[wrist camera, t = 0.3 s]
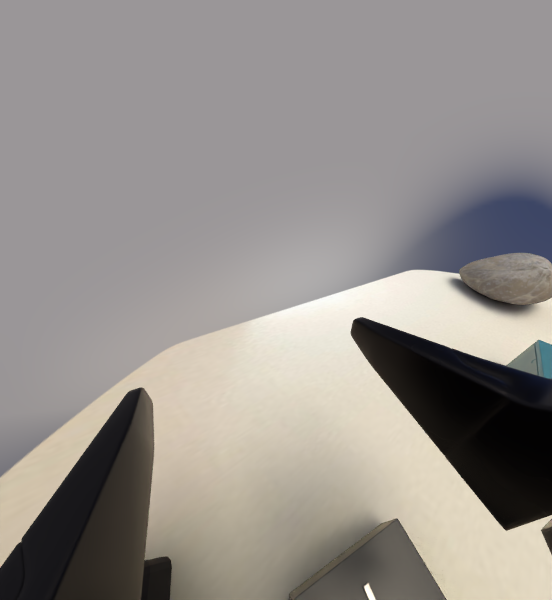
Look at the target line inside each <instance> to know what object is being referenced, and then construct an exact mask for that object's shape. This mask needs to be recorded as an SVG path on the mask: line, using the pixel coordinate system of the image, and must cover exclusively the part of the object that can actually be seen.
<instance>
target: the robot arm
mask: <svg viewBox="0 0 552 600" xmlns="http://www.w3.org/2000/svg"><path fill="white" fill-rule="evenodd" d="M351 336H352V338H353V339H354V341H355V342H356V344H357V345H358V347H359V348H360V350H361V351H362V353H363V354H364V356H365V357H366V359H367V360H368V362H369V363H370V364H371V366H372V367H373V368H374V369H375V371H376V372H377V373H378V374H379V376H380V377H381V378H382V379H383V381H384V382H385V383H386V384H387V385H388V387H389V388H390V389H391V390H392V392H393V393H394V394H395V395H396V397H397V398H398V399H399V400H400V401H401V403H402V404H403V405H404V406H405V408H406V409H407V410H408V411H409V413H410V414H411V415H412V416H413V417H414V419H415V420H416V421H417V422H418V424H419V425H420V426H421V427H422V429H423V430H424V431H425V432H426V434H427V435H428V436H429V437H430V438H431V440H432V441H433V442H434V443H435V445H436V446H437V447H438V448H439V450H440V451H441V452H442V453H443V454H444V455H445V457H446V458H447V460H448V461H449V462H450V463H451V465H452V466H453V467H454V468H455V469H456V471H457V472H458V473H459V474H460V476H461V477H462V478H463V479H464V481H465V482H466V483H467V484H468V486H469V487H470V488H471V489H472V490H473V492H474V493H475V494H476V495H477V497H478V498H479V499H480V500H481V502H482V503H483V504H484V505H485V506H486V508H487V509H488V510H489V511H490V513H491V514H492V515H493V516H494V518H495V519H496V520H497V521H498V522H499V524H500V525H501V526H502V527H503V528H504V529H505V530H506V531H507V530H510V529H513V528H516V527H518V526H521V525H524V524H527V523H530V522H533V521H535V520H538V519H541V518H544V517H547V516H550V515H552V379H549V378H545V377H541V376H538V375H534V374H531V373H528V372H524V371H521V370H518V369H514V368H511V367H508V366H504V365H501V364H497V363H494V362H491V361H488V360H484V359H481V358H478V357H475V356H472V355H469V354H466V353H463V352H460V351H458V350H455V349H451V348H449V347H446V346H443V345H440V344H437V343H435V342H432V341H429V340H426V339H423V338H420V337H417V336H415V335H412V334H409V333H406V332H403V331H400V330H397V329H395V328H392V327H389V326H386V325H383V324H380V323H377V322H375V321H372V320H369V319H366V318H363V317H360V318H357V319H355V320H354V321H353V324H352V329H351ZM153 459H154V424H153V403H152V400H151V398H150V397H149V395H148V394H147V392H146V391H145V389H144V388H137V389H134V390H131V391H129V392H128V393H127V394H126V395H125V397H124V398H123V400H122V401H121V402H120V404H119V405H118V406H117V408H116V409H115V411H114V412H113V413H112V415H111V416H110V417H109V419H108V420H107V422H106V423H105V424H104V426H103V427H102V429H101V430H100V431H99V433H98V434H97V435H96V437H95V438H94V440H93V441H92V442H91V444H90V445H89V446H88V448H87V449H86V451H85V452H84V453H83V455H82V456H81V457H80V459H79V460H78V462H77V463H76V464H75V466H74V467H73V469H72V470H71V471H70V473H69V474H68V475H67V477H66V478H65V480H64V481H63V482H62V484H61V485H60V486H59V488H58V489H57V491H56V492H55V493H54V495H53V496H52V498H51V499H50V500H49V502H48V503H47V504H46V506H45V507H44V509H43V510H42V511H41V513H40V514H39V515H38V517H37V518H36V520H35V521H34V522H33V524H32V525H31V526H30V528H29V529H28V531H27V532H26V533H25V535H24V536H23V538H22V541H21V542H20V543H19V544H17V546H16V547H15V548H14V550H13V551H12V553H11V554H10V555H9V557H8V558H7V559H6V561H5V562H4V564H3V565H2V566H1V568H0V600H141V592H142V581H143V570H144V559H145V548H146V537H147V526H148V515H149V504H150V493H151V482H152V470H153ZM541 531H542V533H543V536H544V538H545V540H546V543H547V545H548V547H549V549H550V552H551V554H552V519H551V520H550V521H549V522H548V523H547V524H546V525H545V526H544V527H543V529H542V530H541Z"/></svg>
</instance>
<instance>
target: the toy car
mask: <svg viewBox="0 0 552 600" xmlns="http://www.w3.org/2000/svg"><path fill="white" fill-rule="evenodd" d="M171 570H172V565H171V560H170V559H169V558H168V557H159V558H155V559H151V560H146V561H144V570H143V581H142V592H141V600H170V585H171Z"/></svg>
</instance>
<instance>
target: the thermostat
mask: <svg viewBox="0 0 552 600" xmlns="http://www.w3.org/2000/svg"><path fill="white" fill-rule="evenodd" d="M289 596H290V600H446V598H445V596H444V595H443V593H442V591H441V590H440V588H439V586H438V585H437V583H436V582H435V580H434V578H433V577H432V575H431V573H430V572H429V570H428V568H427V567H426V565H425V563H424V562H423V560H422V558H421V557H420V555H419V553H418V552H417V550H416V548H415V547H414V545H413V543H412V542H411V540H410V538H409V537H408V535H407V534H406V532H405V530H404V529H403V527H402V525H401V524H400V522H399V520H398V519H394V520H391V521H388V522H385V523H382V524H380V525H379V526H378V527H376V528H375V529H374V530H372V531H371V532H370V533H368V534H367V535H366V536H364V537H363V538H362V539H361V540H359V541H358V542H357V543H355V544H354V545H353V546H351V547H350V548H349V549H347V550H346V551H345V552H343V553H342V554H341V555H340V556H338V557H337V558H336V559H334V560H333V561H332V562H330V563H329V564H328V565H326V566H325V567H324V568H323V569H321V570H320V571H319V572H317V573H316V574H315V575H313V576H312V577H311V578H309V579H308V580H307V581H305V582H304V583H303V584H302V585H300V586H299V587H298V588H296V589H295V590H294V591H292V592H291V593H290V594H289Z"/></svg>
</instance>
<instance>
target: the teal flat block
mask: <svg viewBox="0 0 552 600" xmlns="http://www.w3.org/2000/svg"><path fill="white" fill-rule="evenodd" d="M507 366H508V367H511V368H514V369H518V370H521V371H524V372H528V373H531V374H534V375H538V376H539V371H538V363H537V355H536V347H535V343H534V344H533V345H531V346H530V347H529V348H528V349H526V350H525V351H524V352H523V353H521V354H520V355H519V356H518V357H517V358H515V359H514V360H513V361H512V362H510V363H509V364H508V365H507Z"/></svg>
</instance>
